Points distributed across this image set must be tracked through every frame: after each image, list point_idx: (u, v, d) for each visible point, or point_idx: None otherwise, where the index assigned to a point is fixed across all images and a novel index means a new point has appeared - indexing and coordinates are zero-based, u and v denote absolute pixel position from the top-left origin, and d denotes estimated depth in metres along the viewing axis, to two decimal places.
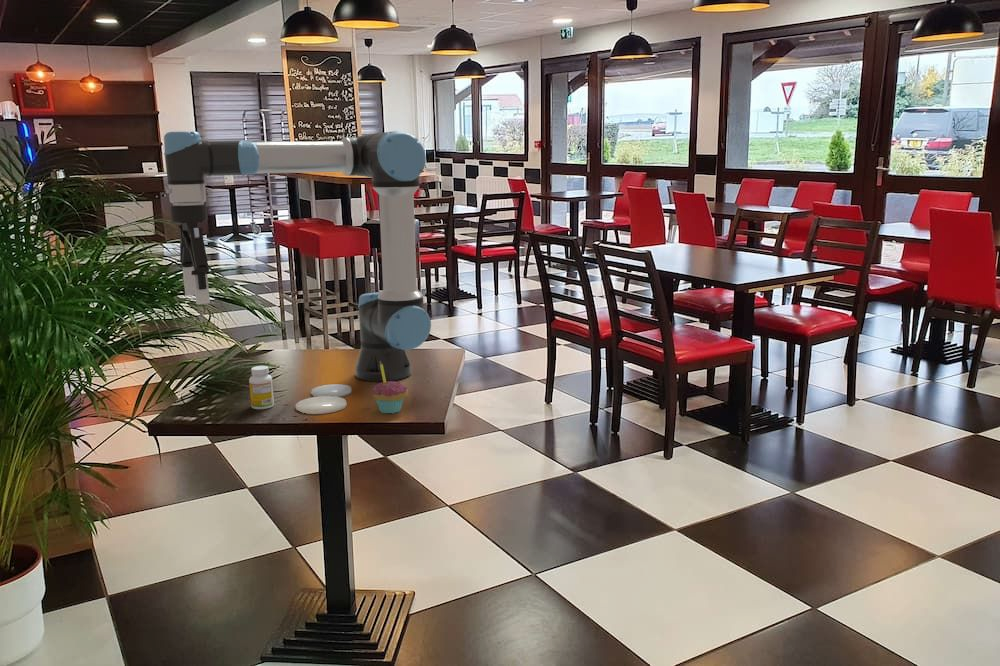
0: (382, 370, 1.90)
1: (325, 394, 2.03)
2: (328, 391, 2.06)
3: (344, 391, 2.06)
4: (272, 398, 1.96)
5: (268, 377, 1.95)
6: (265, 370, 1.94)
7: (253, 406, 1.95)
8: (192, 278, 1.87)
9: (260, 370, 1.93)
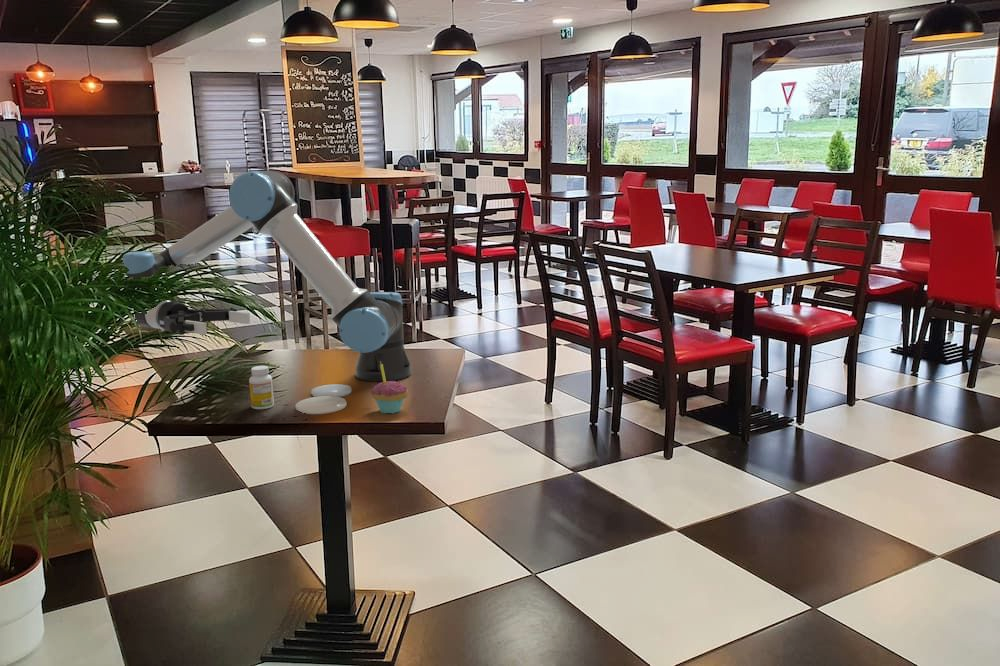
0: (382, 370, 1.90)
1: (325, 394, 2.03)
2: (328, 391, 2.06)
3: (344, 391, 2.06)
4: (272, 398, 1.96)
5: (268, 377, 1.95)
6: (265, 370, 1.94)
7: (253, 406, 1.95)
8: (236, 315, 2.05)
9: (260, 370, 1.93)
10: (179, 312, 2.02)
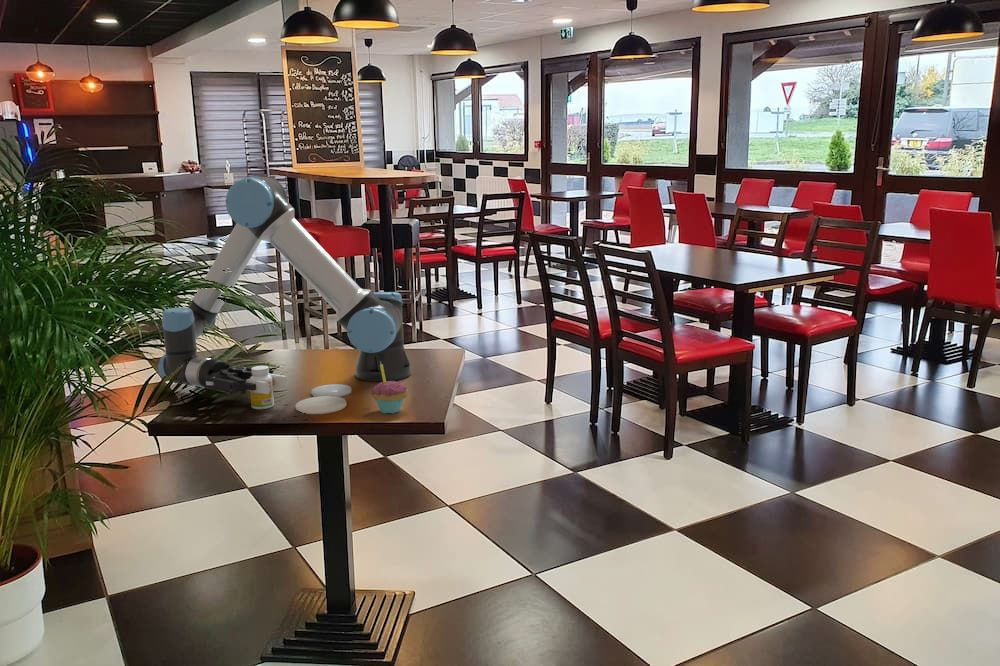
0: (382, 370, 1.90)
1: (325, 394, 2.03)
2: (328, 391, 2.06)
3: (344, 391, 2.06)
4: (272, 398, 1.96)
5: (268, 377, 1.95)
6: (265, 370, 1.94)
7: (253, 406, 1.95)
8: (273, 378, 1.97)
9: (260, 370, 1.93)
10: (223, 371, 1.99)
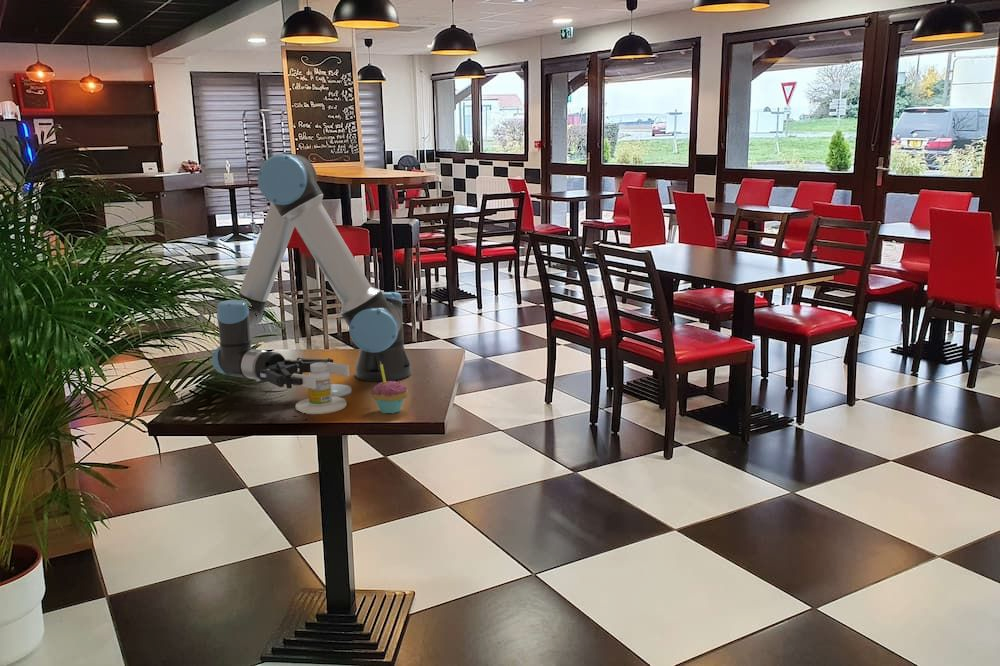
0: (382, 370, 1.90)
1: None
2: None
3: (344, 391, 2.06)
4: (330, 395, 1.95)
5: (327, 374, 1.94)
6: (324, 367, 1.93)
7: (311, 403, 1.94)
8: (334, 367, 1.99)
9: (319, 367, 1.92)
10: (278, 364, 1.97)
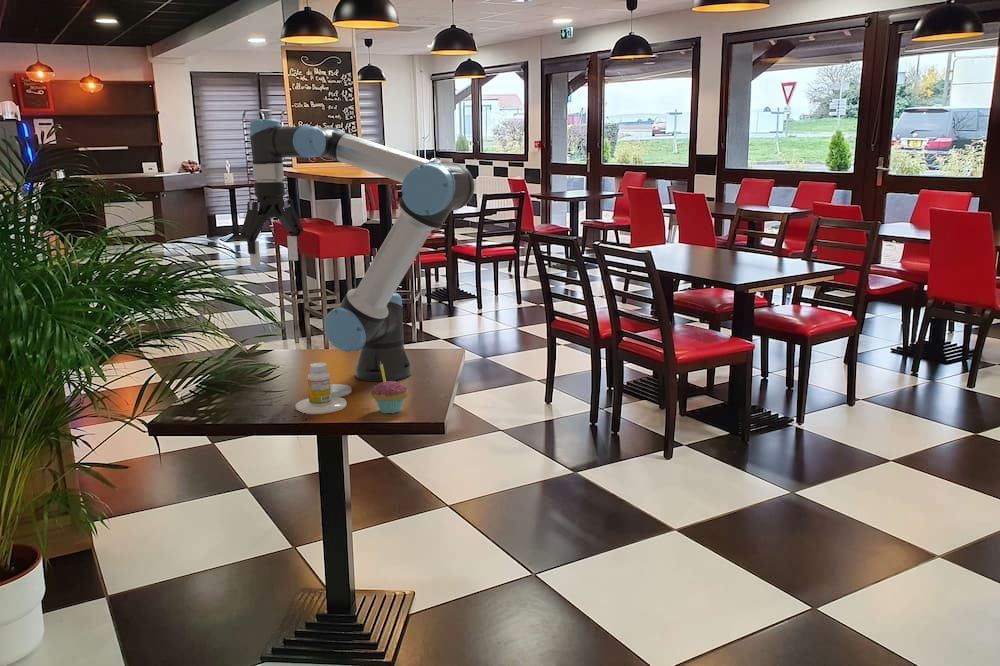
0: (382, 370, 1.90)
1: None
2: None
3: (344, 391, 2.06)
4: (330, 395, 1.95)
5: (327, 374, 1.94)
6: (324, 367, 1.93)
7: (311, 403, 1.94)
8: (292, 246, 2.18)
9: (319, 367, 1.92)
10: (269, 209, 2.07)
